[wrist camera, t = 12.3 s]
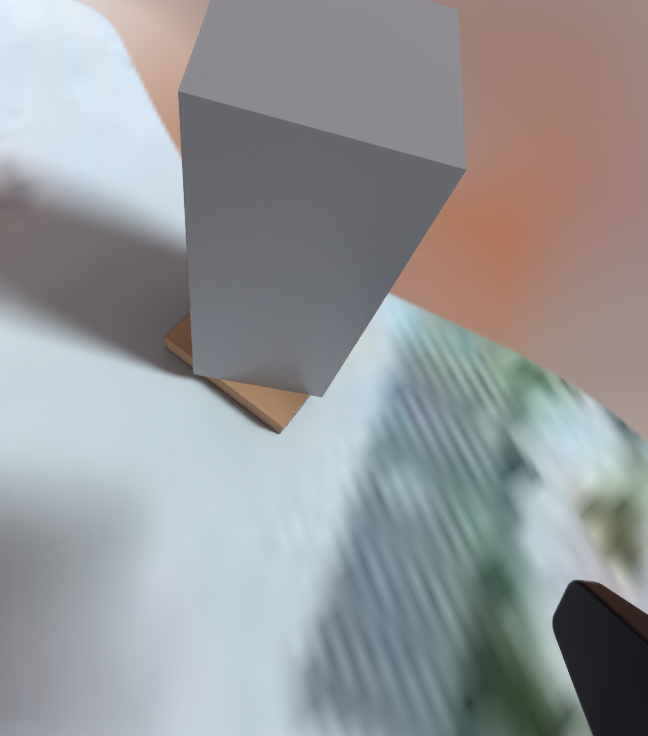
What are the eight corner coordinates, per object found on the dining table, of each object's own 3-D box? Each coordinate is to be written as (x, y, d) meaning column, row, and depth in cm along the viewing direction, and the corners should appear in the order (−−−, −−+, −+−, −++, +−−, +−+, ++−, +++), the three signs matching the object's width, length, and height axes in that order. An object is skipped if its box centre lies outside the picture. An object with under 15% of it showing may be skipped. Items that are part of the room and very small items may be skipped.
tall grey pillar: (322, 397, 19) (466, 169, 9) (193, 374, 18) (178, 91, 8) (332, 292, 22) (458, 9, 11) (218, 267, 21) (234, -65, 10)
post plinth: (279, 434, 19) (305, 384, 14) (166, 347, 20) (153, 270, 15) (356, 337, 22) (399, 267, 17) (255, 262, 22) (269, 174, 18)
